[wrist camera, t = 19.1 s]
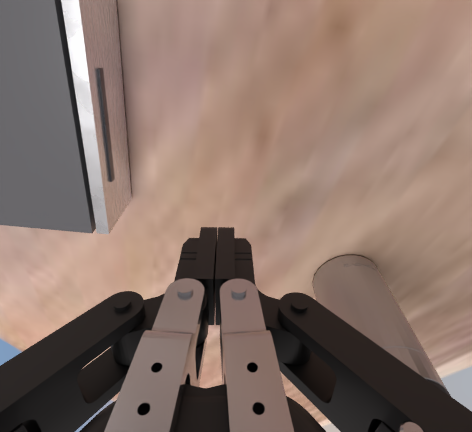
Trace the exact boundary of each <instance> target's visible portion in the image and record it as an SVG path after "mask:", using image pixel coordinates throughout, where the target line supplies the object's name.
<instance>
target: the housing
mask: <svg viewBox="0 0 472 432" xmlns="http://www.w3.org/2000/svg"><path fill="white" fill-rule="evenodd" d="M0 225H8V226H19V227H30V228H40V229H51V230H62V231H73V232H84V233H93V232H94V230H95V229H96V224H95V218H94V211H93V205H92V198H91V192H90V185H89V178H88V172H87V165H86V159H85V152H84V146H83V139H82V133H81V126H80V120H79V113H78V107H77V100H76V94H75V87H74V80H73V74H72V67H71V61H70V54H69V48H68V41H67V35H66V28H65V22H64V15H63V9H62V2H61V0H0Z"/></svg>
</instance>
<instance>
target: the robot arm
mask: <svg viewBox="0 0 472 432" xmlns="http://www.w3.org/2000/svg"><path fill="white" fill-rule="evenodd" d="M313 288H314V292H315V295H316V299H317V301H316V300H314V299H313V298H311V297H310V296H308V295H306V294H303V293H289V294H286V295H284V296H283V297H282V298H281V299H280V300H278V299H275V298H271V297H268V296H266V295H264V294H262V293H261V292H260V291H259V290H258V289H257V287H256V285H255V280H254V270H253V260H252V250H251V245H250V243H249V242H248V241H247V240H246V239H244V238H234V228H225V227H218V241H217V227H201V231H200V237H199V238H189V239H188V240H187V241H186V242H185V243H184V244H183V247H182V251H181V255H180V260H179V264H178V268H177V272H176V277H175V281H174V282H173V283H171V284H170V285H169V286H168V288H167V290H166V292H165V294H163V295H161V296H158V297H155V298H151V299H146V300H143V298H142V296H141V295H140V294H138V293H136V292H132V291H125V292H120V293H117V294H114V295H112V296H111V297H109V298H107V299H106V300H104V301H103V302H101V303H99V304H98V305H96V306H95V307H93V308H91V309H90V310H88V311H87V312H85V313H84V314H82V315H80V316H79V317H77V318H76V319H74V320H72V321H71V322H69V323H68V324H66V325H64V326H63V327H61V328H60V329H58V330H56V331H55V332H53V333H52V334H50V335H49V336H47V337H45V338H44V339H42V340H41V341H39V342H37V343H36V344H34V345H33V346H31V347H29V348H28V349H26V350H25V351H23V352H22V353H20V354H18V355H17V356H15V357H14V358H12V359H10V360H9V361H7V362H6V363H4V364H3V365H1V366H0V432H75V431H76V430H77V429H78V428H79V427H80V426H81V425H83V424H84V423H85V422H86V421H87V420H88V419H89V418H90V417H92V416H93V415H94V414H95V413H96V412H97V411H98V410H99V409H100V408H102V407H103V406H104V405H105V404H106V403H107V402H108V401H109V400H111V399H112V398H113V397H114V396H115V395H116V394H117V393H118V392H120V393H119V395H118V398H117V400H116V401H115V402H113V403H111V404H110V405H108V406H107V407H106V408H105V409H103V410H102V411H101V412H100V413H99V414H98V415H96V416H95V417H94V418H93V419H92V420H91V421H90V422H89V423H88V424H87V425H86V426H85V427H84V428H83V429H82V430H81V431H80V432H326V431H325V430H324V429H323V428H322V427H321V425H320V424H319V423H318V422H317V421H316V420H315V419H314V418H313V417H312V416H311V415H310V413H309V412H308V411H307V410H305V409H304V408H303V407H302V406H301V405H300V404H298V403H297V402H295V401H294V400H292V399H291V398H289V397H287V396H286V394H285V390H284V386H283V381H282V377H281V373H280V371H281V372H282V373H283V374H284V375H285V376H286V377H287V378H288V379H289V380H290V381H291V382H292V383H293V384H294V385H295V386H296V387H297V388H298V389H299V390H300V391H301V392H302V393H303V394H304V395H305V396H306V397H307V398H308V399H309V400H310V401H311V402H312V403H313V404H314V405H315V406H316V407H317V408H318V409H319V410H320V411H321V412H322V413H323V414H324V415H325V416H326V417H327V418H328V419H329V420H330V421H331V422H332V423H333V424H334V425H335V426H336V427H337V428H338V429H339V430H340V431H341V432H472V412H471V411H470V410H469V409H467V408H466V407H464V406H463V405H461V404H460V403H459V402H457V401H456V400H455V399H453V398H452V397H451V396H450V394H449V392H448V391H447V389H446V387H445V386H444V384H443V382H442V380H441V379H440V377H439V375H438V373H437V372H436V370H435V368H434V366H433V365H432V363H431V361H430V360H429V358H428V356H427V354H426V353H425V351H424V349H423V347H422V346H421V344H420V342H419V340H418V339H417V337H416V335H415V333H414V332H413V330H412V328H411V326H410V325H409V323H408V321H407V319H406V318H405V316H404V314H403V312H402V311H401V309H400V307H399V305H398V304H397V302H396V300H395V298H394V297H393V295H392V293H391V291H390V290H389V288H388V286H387V284H386V282H385V281H384V279H383V277H382V275H381V274H380V272H379V270H378V268H377V267H376V265H375V264H374V263H373V262H372V261H370V260H369V259H367V258H364V257H362V256H357V255H346V256H340V257H337V258H334V259H332V260H330V261H328V262H326V263H325V264H324V265H322V266H321V267H320V268H319V269H318V271H317V272H316V274H315V276H314V279H313ZM215 308H216V325H220V351H221V369H222V385H219V386H215V387H211V388H200V387H199V383H200V377H201V372H202V366H203V360H204V354H205V348H206V337H207V334H208V325H214V317H215ZM110 346H111V348H109V347H110ZM108 348H109V349H108ZM106 349H108V350H107V351H105V350H106ZM104 351H105V352H104ZM102 352H104V353H103V354H102V355H100V354H101V353H102ZM98 355H100V356H99V357H98V358H96V357H97V356H98ZM94 358H96V359H95V360H94V361H92V360H93V359H94ZM91 361H92V362H91ZM89 362H91V363H90V364H88V363H89ZM87 364H88V365H87ZM85 365H87V366H86V367H84V366H85ZM83 367H84V368H83ZM82 368H83V369H82ZM81 369H82V370H81Z"/></svg>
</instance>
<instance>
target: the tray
mask: <svg viewBox="0 0 472 432" xmlns="http://www.w3.org/2000/svg"><path fill="white" fill-rule="evenodd" d="M61 2H62V9H63V15H64V22H65V28H66V35H67V41H68V48H69V54H70V61H71V67H72V74H73V80H74V87H75V94H76V100H77V107H78V113H79V120H80V126H81V133H82V139H83V146H84V152H85V159H86V165H87V172H88V178H89V185H90V192H91V198H92V205H93V211H94V218H95V224H96V231H97V233H101V234H109V233H110V232H111V230H112V229H113V227H114V226H115V224H116V223H117V221H118V219H119V218H120V216H121V215H122V213H123V212H124V210H125V209H126V207H127V206H128V204H129V202H130V201H131V199H132V195H131V183H130V170H129V157H128V144H127V131H126V118H125V106H124V93H123V80H122V67H121V54H120V42H119V29H118V16H117V3H116V0H61Z"/></svg>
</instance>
